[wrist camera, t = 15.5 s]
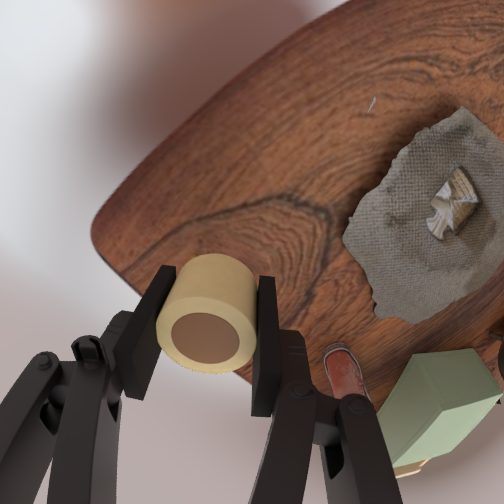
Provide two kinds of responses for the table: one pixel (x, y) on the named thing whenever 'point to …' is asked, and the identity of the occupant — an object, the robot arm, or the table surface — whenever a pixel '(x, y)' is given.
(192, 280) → the tape
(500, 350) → the alarm clock
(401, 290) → the grey stone sculpture
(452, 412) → the cabinet
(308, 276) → the table surface
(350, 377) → the lighter
